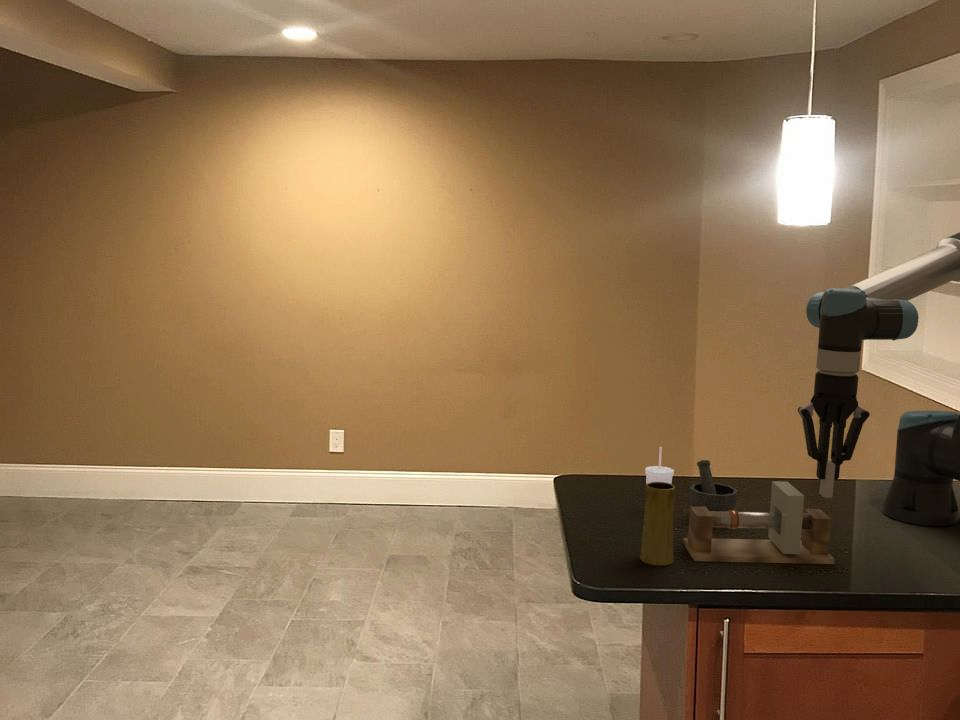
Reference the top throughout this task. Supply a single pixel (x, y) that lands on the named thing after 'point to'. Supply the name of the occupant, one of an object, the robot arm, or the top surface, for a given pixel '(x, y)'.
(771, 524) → the pipe
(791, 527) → the collar
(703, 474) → the mortar and pestle
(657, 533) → the vase
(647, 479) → the beverage cup
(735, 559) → the stand
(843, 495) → the top surface
